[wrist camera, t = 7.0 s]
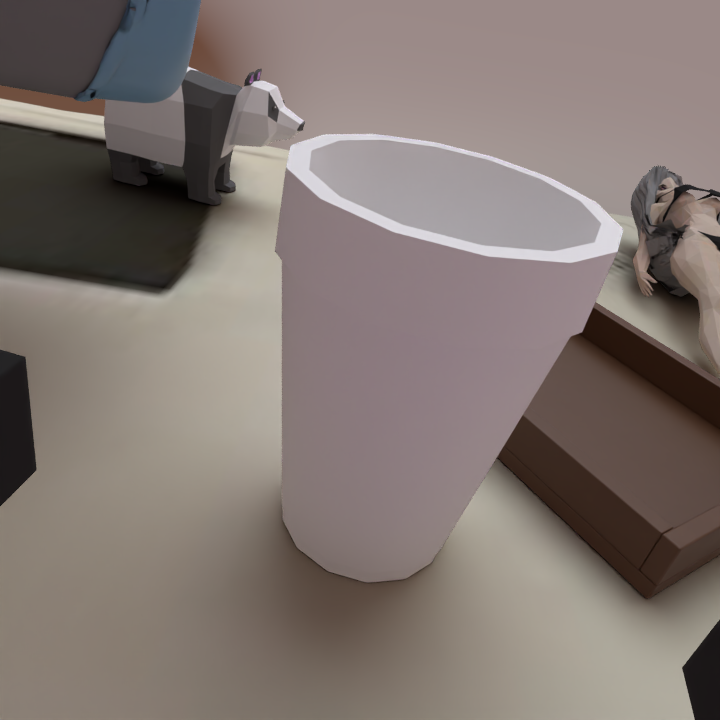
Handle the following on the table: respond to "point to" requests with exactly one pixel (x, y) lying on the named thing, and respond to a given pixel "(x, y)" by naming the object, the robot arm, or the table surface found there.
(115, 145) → the giant panda
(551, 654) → the table surface
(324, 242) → the foam cup
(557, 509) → the tray
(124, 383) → the table surface
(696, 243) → the anime figure
